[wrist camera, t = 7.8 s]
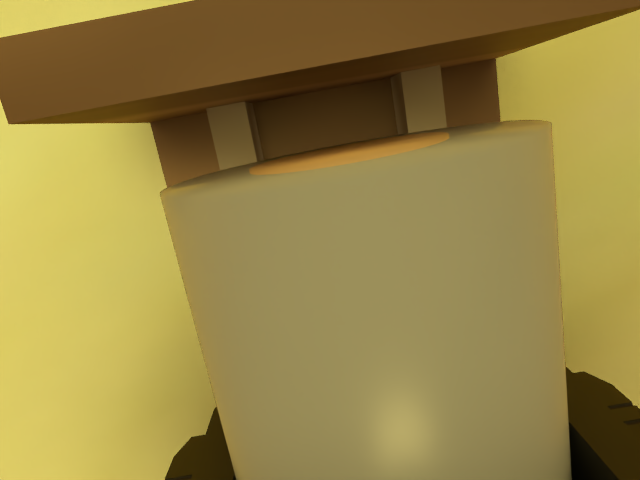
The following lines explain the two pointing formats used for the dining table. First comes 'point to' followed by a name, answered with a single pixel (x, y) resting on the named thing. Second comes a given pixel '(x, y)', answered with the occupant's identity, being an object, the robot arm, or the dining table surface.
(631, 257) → the dining table surface
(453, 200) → the cylinder
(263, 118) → the holder
